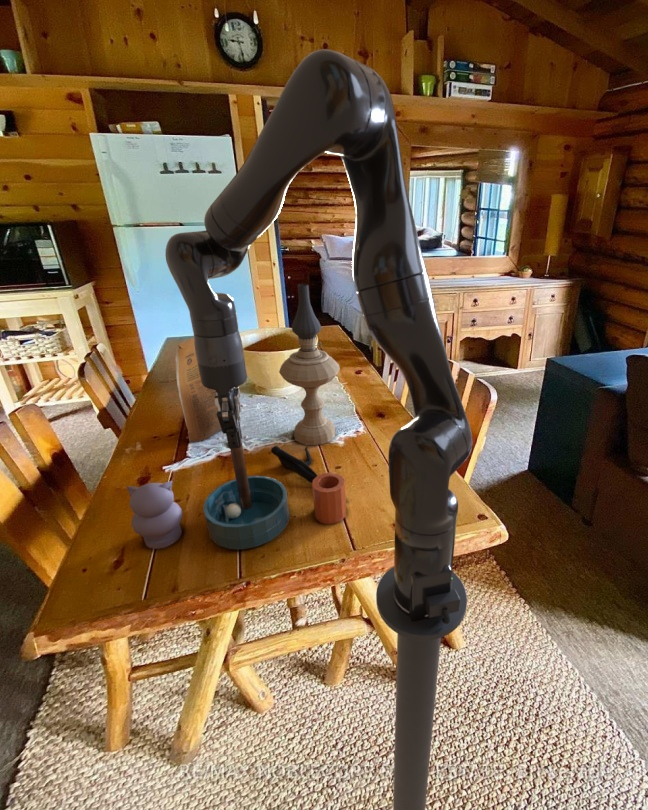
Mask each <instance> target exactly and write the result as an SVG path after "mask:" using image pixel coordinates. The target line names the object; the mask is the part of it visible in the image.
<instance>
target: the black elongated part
mask: <svg viewBox="0 0 648 810" xmlns="http://www.w3.org/2000/svg"><path fill="white" fill-rule="evenodd" d="M308 447H309V445H306V447H305V449H304V451H305V456H306V460H307V461H304V460H302V459H299V458H298V457H296V456H293V455H292V454H290V453H288V452H287V451H286V450H284V449H282V448H281V447H280V446H278V445H274V446H273V447H271V449H270V452H271V453H272V455H274V456H276V457H277V458H278V460H279V462H280V464H281V466H283V467H286V468H288V469H290V470H291V471H292V472H294V474H296V475H298V476H300V477H301V478H303V479H304V480H306V481H307V482H309V483H310V484H312V482H313V480H314V479H315V478H316V477H317V476H318V475H319V474H317V473H316V472H315V471H314V470H313V468H311V467H310V465H311V464H312V460H313V459H312V456H311V454H310V452H309V450H308Z"/></svg>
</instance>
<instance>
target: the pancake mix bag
mask: <svg viewBox="0 0 648 810" xmlns="http://www.w3.org/2000/svg"><path fill="white" fill-rule="evenodd" d="M177 346H178V348H175V350H174V351H175V353H174V354H175V358H174V359H175V361H174V362H175V375H176V385H177V390H178V397H179V400H180V404H181V409H182V412H183V417H184V421H185V425H186V429H187V432H188V441H189V443H192V442H194V443H195V442H202V441H205V440H208V439H210V438H212V437H213V436H214V435H217V434H218V433H219V432H222V429H221V426H220V423H219V420H218V417H217V411H218V408H217V406H216V405H215V400H214V396H216V390H213V389H208V388H206V387H204V386H203V385H202V382H201V377H200V372H199V367H198V362H197V357H196V352H195V346H194V336H193V337H191V338H188V339H186V340H182V341H181V342H178V343H177Z"/></svg>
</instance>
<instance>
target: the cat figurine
mask: <svg viewBox="0 0 648 810" xmlns="http://www.w3.org/2000/svg"><path fill="white" fill-rule="evenodd" d="M172 487H173V480H169V481H167V482H164V483H161V482H160V483H159V482H150V483H146V484H143V485H141V486H139V487H138V486H130V485H126V488H127V491H128V494H129V496H130V498H129V507H130V509H131V511H132V512H133V515H132V517H131V523H130V524H131V525H130V526H131V528H132V529H133V531H134V532H135V533H136V534H137V535H139V536H141V537H142V538H143V541H144V544H145V545H146V547H148V548H149V549H154V550H158V549H159V550H160V549H164V548H167V547H169V546H171V545H173V544H174V543H176V542H177V541H178V540H179V539H180V538H181V536H182V527H181V524H180V523H181V521H182V520H183V509H182V507H180V505H179V504H178V503H177V502H176V501H174V500H175V494H174V492H173V490H172V489H173V488H172Z"/></svg>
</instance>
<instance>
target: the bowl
mask: <svg viewBox="0 0 648 810" xmlns="http://www.w3.org/2000/svg"><path fill="white" fill-rule="evenodd" d="M247 477H248V483H249V489H250V495H251V501H252V507H251V508H250V509H247V510H243V509H241V514H240V515H239V516H238V517H237V518H234V519H232V518H229V517H227V515H226V513H225V510H226V508H227V506H228V505H229V504H232V503H236V504H238V505H239V506H240V507H241V505H240V500H239V494H238V489H237V483H236V478H235V479H231V480H228V481H227V482H224V483H223V484H220V485H219V486H217V487H215V489H213V490H212V491H211V492H210V493H209V495H208V496H207V497H206V499H205V500H204V502H203V508H202V511H203V512H202V513H203V516H204V520H205V526H206V528H207V533H208V535H209V538H210V540H211V541H212V542H213V543H215V544H216V545H217V546H218V547H221V548H224V549H228V550H247V549H252V548H258V547H259V546H262V545H264V544H267V543H269V542H271V541H273V540H274V539H275V538H277V537H278V536H279V535H280V534H281V533H283V531H284V530H285V529H286V528H287V525H288V523H289V521H290V509H289V501H288V493H287V489H286V487H285V486H284V484H283V483H282V482H281V481H279V480H278V479H276V478H272V477H269V476H265V475H249V476H248V475H247Z"/></svg>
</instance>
